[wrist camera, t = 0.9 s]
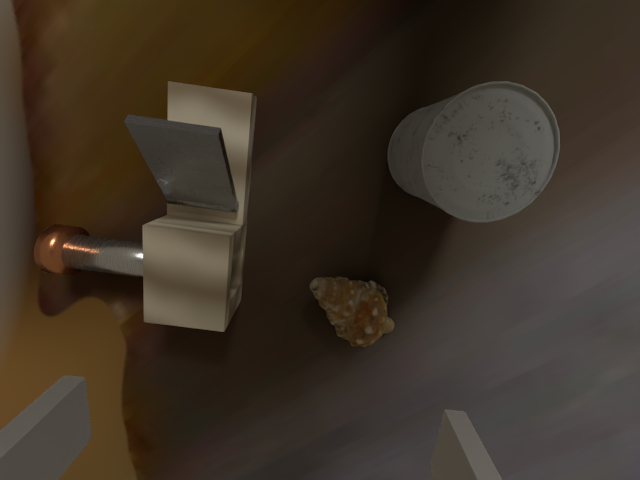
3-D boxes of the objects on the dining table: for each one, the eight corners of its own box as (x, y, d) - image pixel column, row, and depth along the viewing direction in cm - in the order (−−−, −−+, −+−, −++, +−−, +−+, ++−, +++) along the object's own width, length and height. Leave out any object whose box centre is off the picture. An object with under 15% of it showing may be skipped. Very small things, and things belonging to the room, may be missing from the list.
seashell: (317, 312, 43) (285, 321, 34) (349, 260, 42) (324, 255, 33) (376, 355, 40) (359, 379, 30) (411, 300, 39) (404, 307, 30)
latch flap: (129, 112, 24) (122, 123, 24) (221, 125, 25) (217, 137, 24) (172, 196, 34) (168, 205, 33) (239, 205, 34) (236, 215, 33)
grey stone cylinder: (400, 210, 36) (439, 240, 24) (376, 124, 33) (405, 111, 22) (485, 181, 35) (569, 197, 23) (466, 91, 33) (549, 57, 21)
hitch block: (178, 85, 33) (140, 69, 26) (256, 97, 33) (239, 83, 26) (175, 291, 39) (144, 321, 32) (241, 300, 39) (224, 331, 32)
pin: (72, 219, 36) (31, 231, 31) (198, 236, 36) (178, 250, 31) (75, 263, 37) (36, 280, 32) (196, 278, 38) (177, 298, 33)
